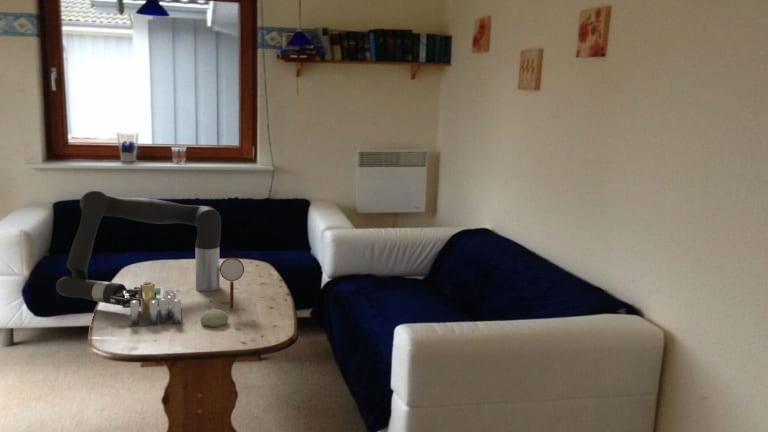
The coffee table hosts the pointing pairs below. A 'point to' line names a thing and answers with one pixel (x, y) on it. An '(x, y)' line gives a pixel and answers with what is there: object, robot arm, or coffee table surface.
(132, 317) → the spacer posts
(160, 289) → the parts tray
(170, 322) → the mat
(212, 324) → the sea urchin shell
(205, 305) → the coffee table surface
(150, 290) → the gold hexagonal pillar
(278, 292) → the coffee table surface
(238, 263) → the magnifying glass
